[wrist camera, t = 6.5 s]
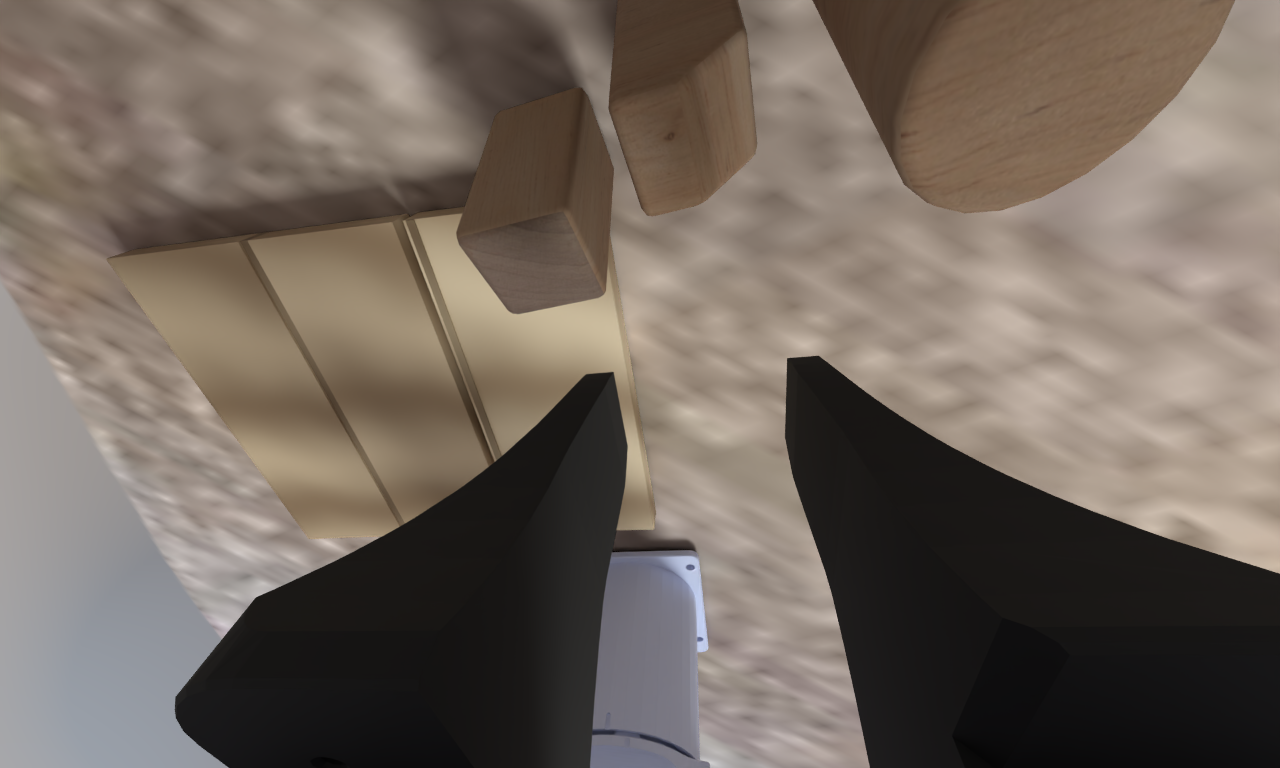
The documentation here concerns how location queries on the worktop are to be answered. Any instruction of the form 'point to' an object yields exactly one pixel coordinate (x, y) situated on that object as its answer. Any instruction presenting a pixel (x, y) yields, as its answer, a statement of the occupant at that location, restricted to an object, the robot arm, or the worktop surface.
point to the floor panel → (321, 366)
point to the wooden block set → (888, 85)
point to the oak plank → (530, 352)
